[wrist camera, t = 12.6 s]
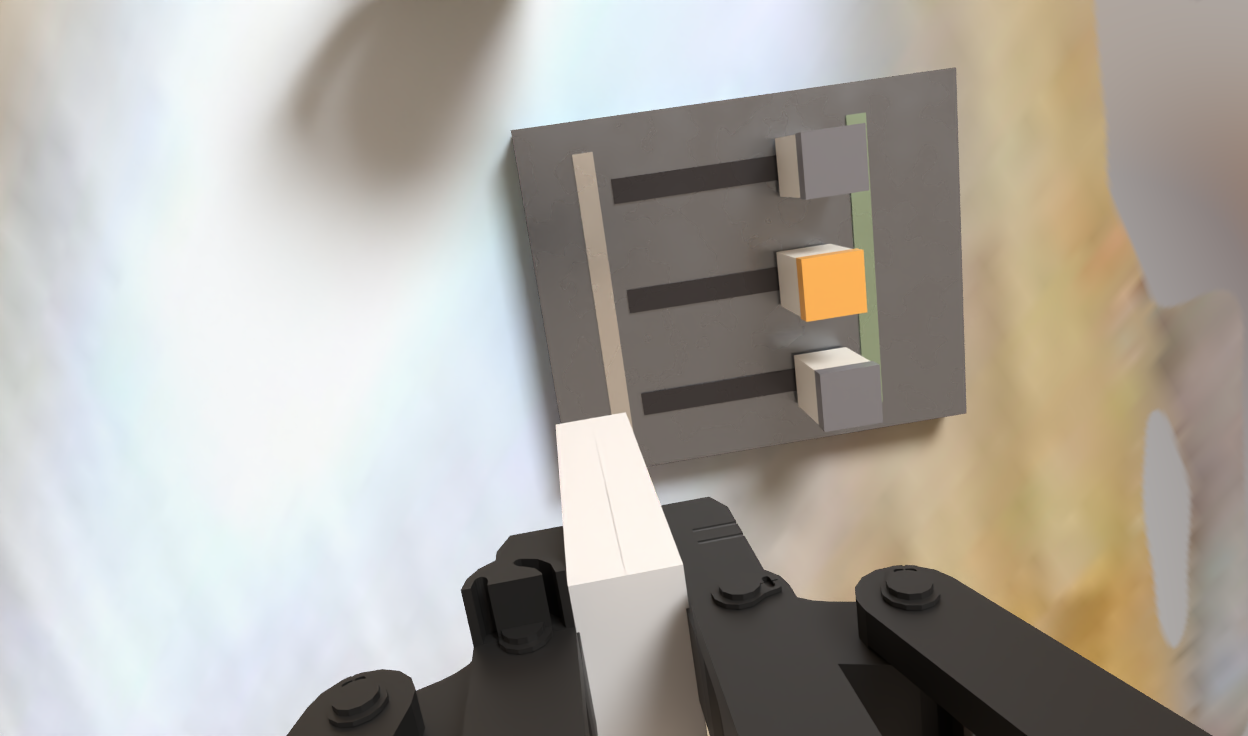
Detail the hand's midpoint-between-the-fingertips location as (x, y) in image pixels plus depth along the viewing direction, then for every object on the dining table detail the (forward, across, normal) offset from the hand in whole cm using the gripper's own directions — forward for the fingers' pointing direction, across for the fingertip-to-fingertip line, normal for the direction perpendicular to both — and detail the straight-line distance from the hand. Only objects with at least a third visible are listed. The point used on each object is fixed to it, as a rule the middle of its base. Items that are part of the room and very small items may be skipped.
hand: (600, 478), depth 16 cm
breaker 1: (+23, +13, +5) cm, 27 cm away
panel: (+25, +10, 0) cm, 27 cm away
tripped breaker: (+23, +12, 0) cm, 26 cm away
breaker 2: (+23, +13, -6) cm, 27 cm away
